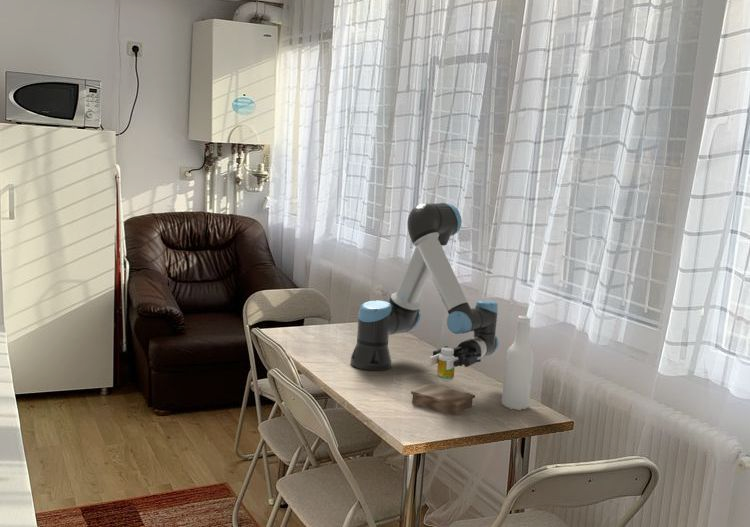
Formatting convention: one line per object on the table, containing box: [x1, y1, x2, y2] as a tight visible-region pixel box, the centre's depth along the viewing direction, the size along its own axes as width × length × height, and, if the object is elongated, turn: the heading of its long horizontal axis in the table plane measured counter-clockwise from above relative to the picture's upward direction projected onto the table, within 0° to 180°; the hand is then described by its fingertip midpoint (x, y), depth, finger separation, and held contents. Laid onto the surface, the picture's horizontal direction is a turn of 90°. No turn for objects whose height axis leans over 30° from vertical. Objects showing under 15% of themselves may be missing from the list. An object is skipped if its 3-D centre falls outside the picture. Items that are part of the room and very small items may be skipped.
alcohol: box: [501, 315, 535, 410], centre depth 255 cm, size 9×9×30 cm
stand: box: [410, 382, 476, 416], centre depth 252 cm, size 17×12×4 cm
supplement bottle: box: [436, 347, 456, 382], centre depth 251 cm, size 5×5×10 cm
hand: (439, 363), depth 246 cm, fingers closed on supplement bottle, 5 cm apart
